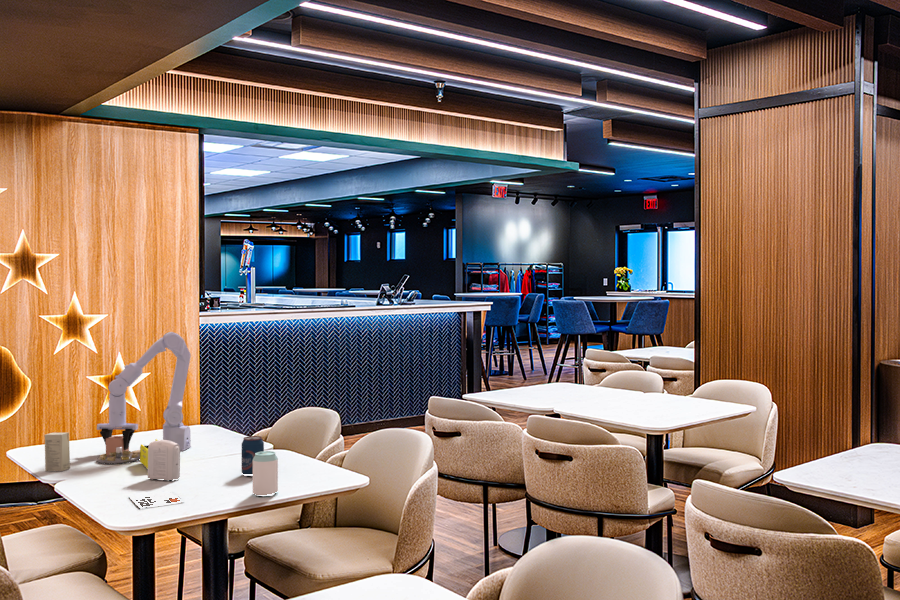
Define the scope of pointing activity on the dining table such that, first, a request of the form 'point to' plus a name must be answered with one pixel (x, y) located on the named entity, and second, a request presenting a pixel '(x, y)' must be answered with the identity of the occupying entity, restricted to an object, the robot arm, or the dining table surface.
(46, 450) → the skincare box
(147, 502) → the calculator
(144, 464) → the yellow toy chassis
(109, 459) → the hub
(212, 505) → the dining table surface
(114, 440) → the pink square tube
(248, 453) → the soda can
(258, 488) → the can
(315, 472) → the dining table surface
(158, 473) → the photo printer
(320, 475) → the dining table surface
